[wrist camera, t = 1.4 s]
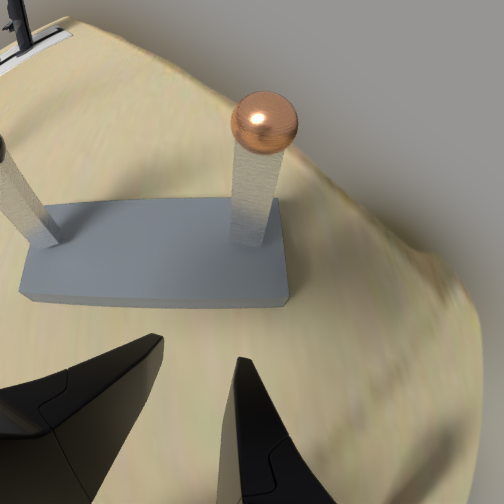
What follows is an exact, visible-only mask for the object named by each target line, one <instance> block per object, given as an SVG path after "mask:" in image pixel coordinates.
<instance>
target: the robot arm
mask: <svg viewBox="0 0 504 504" xmlns="http://www.w3.org/2000/svg"><path fill="white" fill-rule="evenodd" d="M163 351H164V338H163V336H160V335H157V334H154V333H150V334H148V335H146V336H143V337H141V338H139V339H136V340H134V341H132V342H130V343H127V344H125V345H123V346H120V347H118V348H116V349H113V350H111V351H108V352H106V353H104V354H101V355H99V356H96V357H94V358H92V359H89V360H87V361H84V362H82V363H80V364H77V365H75V366H72V367H70V368H68V370H67V369H64V370H62V371H59V372H57V373H54V374H52V375H49V376H46V377H43V378H40V379H37V380H33V381H30V382H26V383H22V384H19V385H15V386H11V387H7V388H2V389H0V504H92V503H91V502H93V500H94V498H95V496H96V494H97V492H98V490H99V488H100V487H101V485H102V483H103V481H104V479H105V477H106V475H107V473H108V471H109V470H110V468H111V466H112V464H113V462H114V460H115V458H116V457H117V455H118V453H119V451H120V449H121V447H122V445H123V444H124V442H125V440H126V438H127V436H128V434H129V433H130V431H131V429H132V427H133V425H134V423H135V422H136V420H137V418H138V416H139V414H140V413H141V411H142V409H143V407H144V405H145V403H146V401H147V399H148V397H149V394H150V392H151V389H152V387H153V384H154V381H155V379H156V376H157V374H158V371H159V369H160V366H161V364H162V360H163ZM216 504H337V503H336V502H335V501H334V500H333V498H332V497H331V496H330V495H329V493H328V492H327V491H326V490H325V488H324V487H323V486H322V484H321V483H320V482H319V481H318V479H317V478H316V477H315V475H314V474H313V473H312V471H311V470H310V469H309V467H308V466H307V464H306V463H305V461H304V460H303V458H302V457H301V455H300V453H299V452H298V450H297V448H296V447H295V445H294V443H293V441H292V439H291V437H290V436H289V433H288V432H287V430H286V428H285V426H284V424H283V422H282V420H281V418H280V416H279V414H278V412H277V410H276V408H275V406H274V404H273V402H272V400H271V398H270V396H269V394H268V392H267V390H266V388H265V386H264V384H263V382H262V380H261V378H260V376H259V374H258V372H257V370H256V368H255V366H254V364H253V362H252V360H251V359H248V358H244V357H238V358H237V362H236V366H235V370H234V374H233V378H232V382H231V387H230V391H229V396H228V400H227V404H226V409H225V413H224V418H223V424H222V434H221V447H220V461H219V474H218V489H217V503H216Z"/></svg>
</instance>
